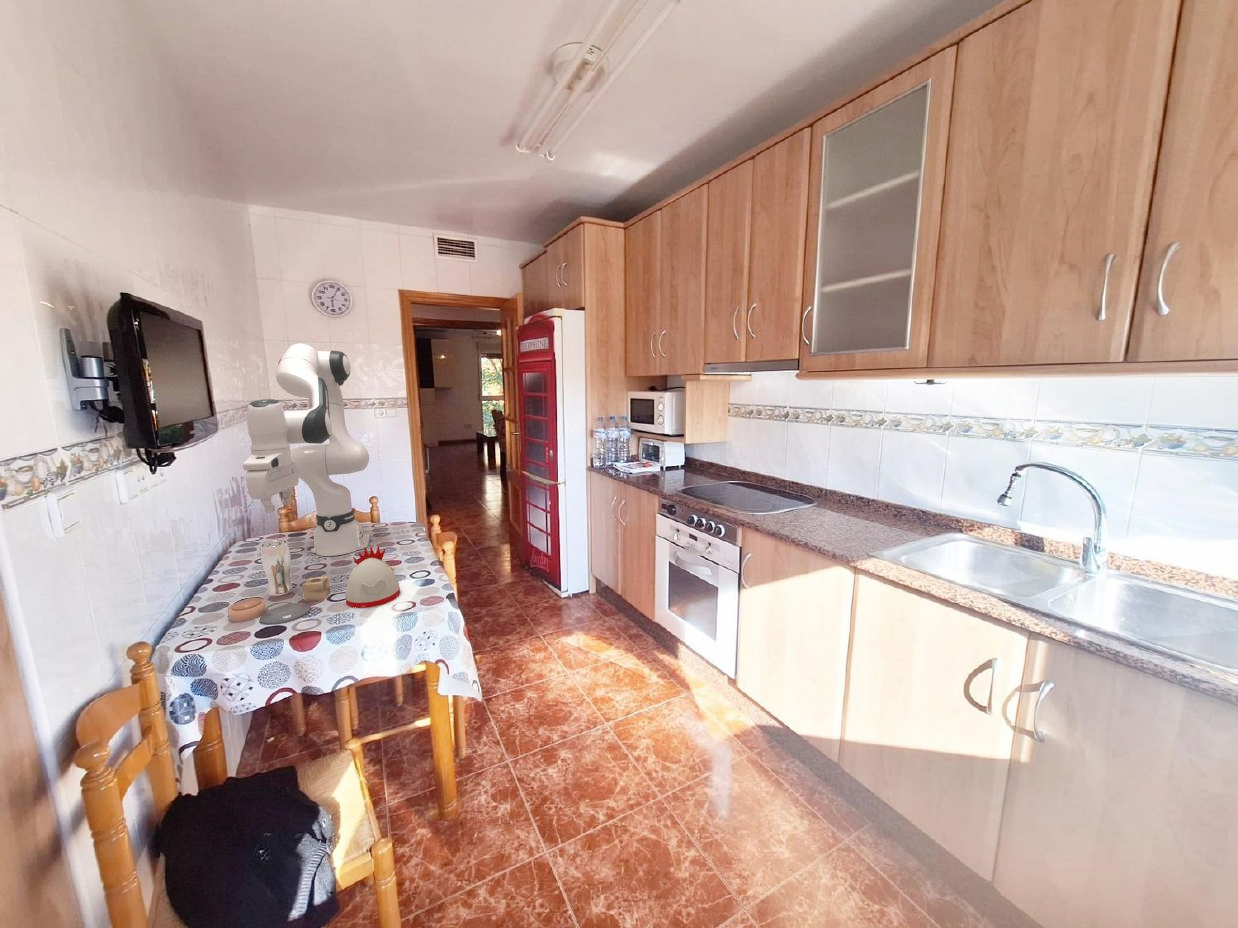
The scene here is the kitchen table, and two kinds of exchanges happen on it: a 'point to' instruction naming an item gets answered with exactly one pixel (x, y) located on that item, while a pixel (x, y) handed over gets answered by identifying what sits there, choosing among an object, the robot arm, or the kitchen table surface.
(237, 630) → the kitchen table surface
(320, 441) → the robot arm
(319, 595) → the oak block
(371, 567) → the kitchen timer
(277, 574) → the beer glass
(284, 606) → the coaster
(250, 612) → the ramekin
